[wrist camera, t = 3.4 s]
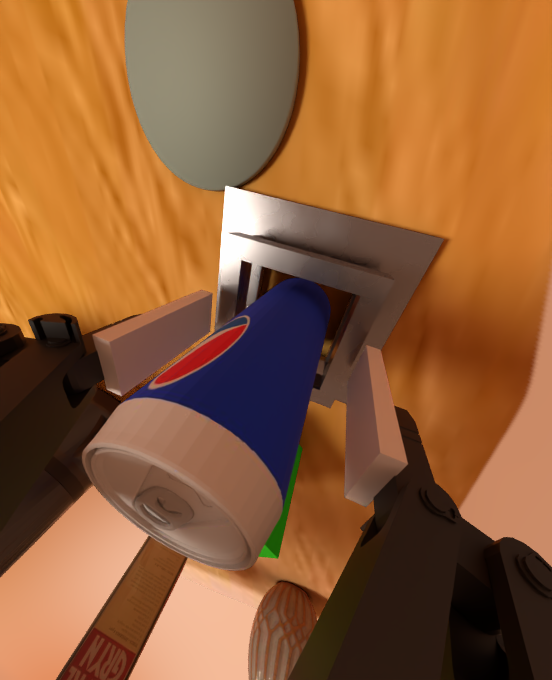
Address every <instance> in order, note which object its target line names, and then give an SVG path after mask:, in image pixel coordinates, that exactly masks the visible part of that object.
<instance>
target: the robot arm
mask: <svg viewBox="0 0 552 680" xmlns="http://www.w3.org/2000/svg"><path fill="white" fill-rule="evenodd" d="M211 308H212V293H210V292H207V291H204V290H200V291H197V292H195V293H192V294H190V295H188V296H185V297H183V298H180V299H178V300H175V301H173V302H171V303H168V304H166V305H163V306H161V307H158V308H156V309H154V310H151V311H149V312H146V313H144V314H139V315H133V316H130V317H128V318H125V319H123V320H122V321H118V322H115V323H114V324H110V325H108V326H105V327H103V328H100V329H98V330H95V331H93V332H90V333H88V334H85V335H83V336H82V335H81V331H80V328H79V324H78V321H77V318H76V317H74V316H72V315H69V314H59V313H54V314H45V315H41V316H36V317H34V318H31V319H29V320H28V321H29V324H30V326H31V328H32V331H33V333H34V335H35V338H36V339H33V338H26V337H24V335H23V333H22V331H21V329H20V327H19V326H16V325H14V324H4V323H0V577H1V576H2V575H3V574H4V573H5V572H6V571H7V570H8V569H9V568H10V567H11V566H12V565H13V564H14V563H15V562H16V561H17V560H18V559H19V558H20V557H21V556H22V555H23V554H24V553H25V552H26V551H27V550H28V549H29V548H30V547H31V546H32V545H33V544H34V543H35V542H36V541H37V540H38V539H39V538H40V537H41V536H42V535H43V534H44V533H45V532H46V531H47V530H48V529H49V528H50V527H51V526H52V525H53V524H54V523H55V522H56V521H57V520H58V519H59V518H60V517H61V516H62V515H63V514H64V513H65V512H66V511H67V510H68V509H69V508H70V507H71V506H72V505H73V504H74V503H75V502H76V501H77V500H78V499H79V498H80V497H81V496H82V495H83V494H84V493H85V492H86V491H87V490H88V489H89V488H91V487H92V486H93V483H92V482H91V480H90V479H89V477H88V475H87V473H86V471H85V468H84V466H83V463H82V453H83V450H84V449H85V448H86V447H87V445H88V444H89V443H90V442H91V441H92V440H93V438H94V437H95V436H96V435H97V433H98V432H99V431H100V429H101V428H102V427H103V425H104V424H105V423H106V421H107V420H108V419H109V417H110V416H111V414H112V413H113V412H114V411H115V409H116V408H117V407H118V406H119V405H120V404H121V403H119V402H118V401H117V400H116V399H114V398H113V397H111V396H110V395H108V394H107V393H105V392H103V391H101V390H99V389H98V388H97V385H96V384H97V383H99V382H100V381H102V380H104V381H105V385H106V388H107V390H109V391H111V392H113V393H115V394H117V395H120V396H123V395H124V394H126V393H127V392H128V391H130V390H131V389H132V388H134V387H135V386H136V385H138V384H139V383H141V382H142V381H143V380H145V379H146V378H147V377H149V376H150V375H152V374H153V373H154V372H156V371H157V370H158V369H160V368H161V367H162V366H164V365H165V364H167V363H168V362H169V361H171V360H172V359H173V358H175V357H176V356H177V355H179V354H180V353H182V352H183V351H184V350H186V349H187V348H188V347H190V346H191V345H192V344H194V343H195V342H197V341H198V340H199V339H201V338H202V337H203V336H205V335H206V334H208V333H209V332H210V324H211ZM418 434H419V432H418V429H417V426H416V423H415V421H414V420H413V418H412V417H411V415H410V414H409V413H408V411H407V410H404V409H402V408H399V407H396V406H394V403H393V399H392V395H391V391H390V387H389V382H388V378H387V374H386V370H385V366H384V362H383V357H382V353H381V350H380V349H377V348H374V347H371V346H368V345H366V347H365V349H364V351H363V353H362V355H361V357H360V359H359V361H358V363H357V365H356V367H355V368H354V370H353V372H352V374H351V376H350V378H349V380H348V382H347V415H346V452H345V488H344V497H345V498H347V499H349V500H351V501H354V502H356V503H358V504H360V505H362V506H365V507H367V506H368V505H369V504H370V503H371V502H372V501H373V499H374V509H375V514H374V515H373V516H372V517H371V518H370V519H369V520H368V521H367V522H366V523H365V524H364V525H363V526H362V527H361V528H360V529H361V530H362V531H363V533H362V535H361V537H360V539H359V541H358V543H357V545H356V547H355V549H354V551H353V553H352V555H351V557H350V558H349V560H348V562H347V564H346V566H345V568H344V570H343V572H342V574H341V576H340V578H339V580H338V582H337V584H336V586H335V588H334V590H333V592H332V594H331V596H330V598H329V600H328V602H327V603H326V605H325V607H324V609H323V611H322V613H321V615H320V617H319V619H318V621H317V623H316V625H315V627H314V629H313V631H312V633H311V635H310V637H309V639H308V641H307V643H306V645H305V647H304V649H303V650H302V652H301V654H300V656H299V658H298V660H297V662H296V664H295V666H294V668H293V670H292V672H291V674H290V676H289V678H288V680H552V567H551V566H550V565H549V564H548V563H547V562H546V561H545V560H544V559H543V558H542V557H541V556H540V555H539V554H538V553H537V552H535V551H534V550H533V549H531V548H530V547H529V546H527V545H526V544H524V543H523V542H521V541H518V540H516V539H514V538H510V537H503V538H501V539H500V540H497V541H494V540H492V539H491V538H490V537H488V536H487V535H485V534H484V533H483V532H481V531H480V530H478V529H477V528H476V527H474V526H473V525H471V524H470V523H469V522H467V521H466V520H465V519H463V518H462V517H461V515H460V513H459V510H458V508H457V506H456V504H455V503H454V502H453V500H452V499H451V497H450V496H449V495H448V494H447V493H446V492H445V491H444V490H443V489H442V488H441V487H440V486H439V485H437V484H436V483H435V481H434V478H433V475H432V472H431V469H430V466H429V463H428V460H427V457H426V454H425V450H424V447H423V445H421V443H422V441H421V438H420V435H418Z"/></svg>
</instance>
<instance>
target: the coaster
mask: <svg viewBox="0 0 552 680" xmlns="http://www.w3.org/2000/svg"><path fill="white" fill-rule="evenodd" d="M125 56H126V67H127V75H128V81H129V86H130V91H131V96H132V99H133V103H134V106H135V110H136V113H137V116H138V118H139V121H140V124H141V126H142V128H143V131H144V133H145V135H146V137H147V139H148V141H149V142H150V144H151V146H152V148H153V149H154V151H155V152H156V154H157V155H158V157H159V158H160V159H161V161H162V162H163V163H164V164H165V165H166V166H167V168H168V169H170V170H171V171H172V172H173V173H174V174H175V175H176V176H177V177H179V178H180V179H182V180H183V181H185V182H187V183H188V184H190V185H192V186H195V187H198V188H201V189H205V190H211V191H225V186H229V187H233V188H237V187H240V186H242V185H244V184H245V183H247V182H249V181H250V180H251V179H253V178H254V177H255V176H256V175H258V174H259V173H260V172H261V171H262V169H263V168H264V167H265V166H266V165H267V164H268V162H269V161H270V160H271V158H272V157H273V156H274V154H275V152H276V150H277V149H278V147H279V145H280V143H281V141H282V139H283V137H284V135H285V132H286V130H287V127H288V124H289V121H290V118H291V115H292V112H293V108H294V103H295V99H296V94H297V87H298V80H299V67H300V39H299V29H298V21H297V14H296V9H295V5H294V0H128V2H127V8H126V20H125Z"/></svg>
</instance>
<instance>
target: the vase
mask: <svg viewBox="0 0 552 680" xmlns="http://www.w3.org/2000/svg"><path fill="white" fill-rule="evenodd" d="M316 623H317V617H316V613H315V611H314V608H313V606H312V603H311V601H310V599H309V597H308V595H307V593H306V592H305V591H303V590H302V589H301V588H299V587H297V586H295V585H293V584H291V583H288V582H279V583H277V584H276V585H275V586H273V587H272V588H271V589H270V590H269V591H268V592H267V593H266V594H265V596H264V597H263V599H262V601H261V602H260V605H259V607H258V609H257V612H256V615H255V618H254V622H253V626H252V631H251V636H250V643H249V656H248V671H249V680H288V678H289V676H290V674H291V672H292V670H293V668H294V666H295V664H296V662H297V660H298V658H299V656H300V654H301V652H302V650H303V649H304V647H305V645H306V643H307V641H308V639H309V637H310V635H311V633H312V631H313V629H314V627H315V625H316Z"/></svg>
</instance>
